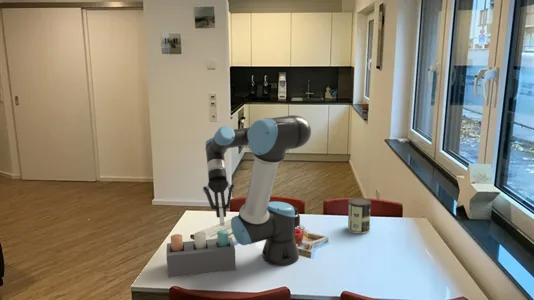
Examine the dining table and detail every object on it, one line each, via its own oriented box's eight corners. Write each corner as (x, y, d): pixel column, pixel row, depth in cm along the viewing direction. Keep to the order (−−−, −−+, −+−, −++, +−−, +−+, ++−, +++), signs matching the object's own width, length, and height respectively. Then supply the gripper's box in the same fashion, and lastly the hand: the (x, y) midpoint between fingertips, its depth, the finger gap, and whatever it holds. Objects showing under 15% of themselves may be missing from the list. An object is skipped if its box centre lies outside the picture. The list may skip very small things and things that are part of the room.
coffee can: (367, 224, 217) (368, 197, 214) (371, 233, 207) (373, 204, 204) (346, 224, 218) (346, 197, 214) (349, 233, 208) (350, 205, 204)
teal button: (228, 243, 181) (227, 229, 180) (229, 248, 177) (229, 234, 176) (217, 244, 180) (216, 230, 179) (218, 249, 176) (217, 235, 175)
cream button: (205, 245, 179) (205, 231, 178) (206, 250, 175) (205, 236, 174) (194, 246, 179) (193, 232, 177) (195, 251, 174) (194, 237, 173)
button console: (232, 257, 186) (231, 237, 184) (235, 270, 176) (235, 249, 174) (168, 264, 182) (166, 243, 179) (167, 277, 171) (166, 255, 169)
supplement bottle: (298, 236, 206) (298, 211, 203) (284, 235, 207) (283, 210, 204) (300, 230, 212) (300, 206, 209) (286, 229, 213) (286, 205, 211)
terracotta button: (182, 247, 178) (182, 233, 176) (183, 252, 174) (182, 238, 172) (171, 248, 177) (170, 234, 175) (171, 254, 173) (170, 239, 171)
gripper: (231, 175, 193) (238, 226, 181) (201, 177, 191) (205, 229, 179) (232, 166, 187) (239, 219, 175) (201, 168, 185) (205, 222, 173)
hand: (222, 224), depth 177 cm, fingers closed
